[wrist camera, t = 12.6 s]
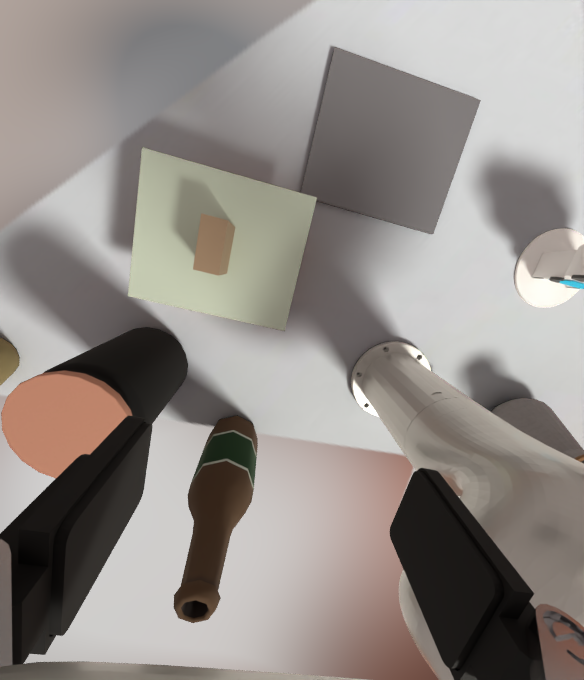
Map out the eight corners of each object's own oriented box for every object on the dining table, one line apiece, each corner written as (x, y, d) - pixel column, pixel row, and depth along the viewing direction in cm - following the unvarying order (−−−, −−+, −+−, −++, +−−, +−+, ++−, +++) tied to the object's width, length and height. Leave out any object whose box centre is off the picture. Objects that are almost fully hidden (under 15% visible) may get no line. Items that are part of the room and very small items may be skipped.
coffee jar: (108, 380, 42) (-8, 464, 25) (124, 314, 39) (8, 356, 22) (179, 401, 43) (117, 494, 26) (199, 339, 41) (144, 396, 24)
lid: (315, 199, 31) (325, 185, 25) (284, 329, 34) (286, 342, 29) (145, 150, 28) (114, 122, 23) (131, 295, 32) (101, 302, 26)
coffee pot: (490, 385, 46) (589, 440, 32) (550, 398, 48) (670, 457, 33) (442, 489, 51) (508, 578, 37) (497, 498, 53) (581, 587, 38)
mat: (477, 103, 35) (480, 100, 35) (430, 234, 39) (433, 233, 38) (333, 50, 33) (334, 46, 32) (299, 196, 37) (300, 194, 36)
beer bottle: (254, 457, 47) (236, 645, 24) (207, 452, 46) (141, 642, 23) (261, 416, 45) (249, 579, 22) (212, 410, 44) (146, 572, 21)
